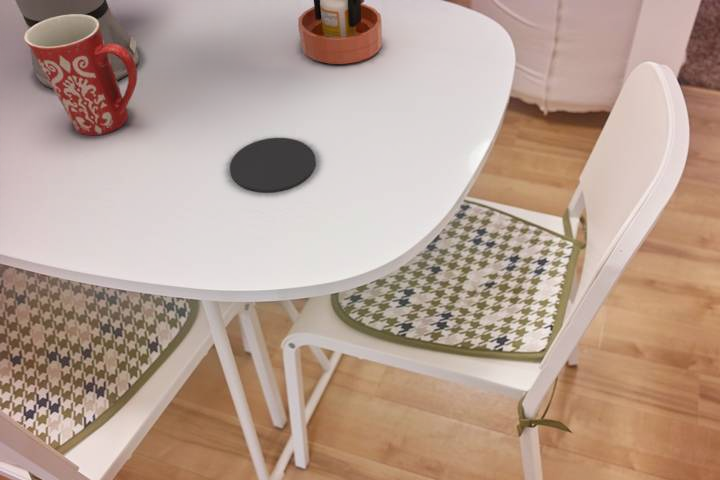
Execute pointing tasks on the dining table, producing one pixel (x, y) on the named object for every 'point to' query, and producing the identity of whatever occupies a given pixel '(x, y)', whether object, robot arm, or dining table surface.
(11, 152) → the dining table surface
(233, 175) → the coaster
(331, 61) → the bowl
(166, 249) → the dining table surface
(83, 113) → the mug
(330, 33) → the supplement bottle
